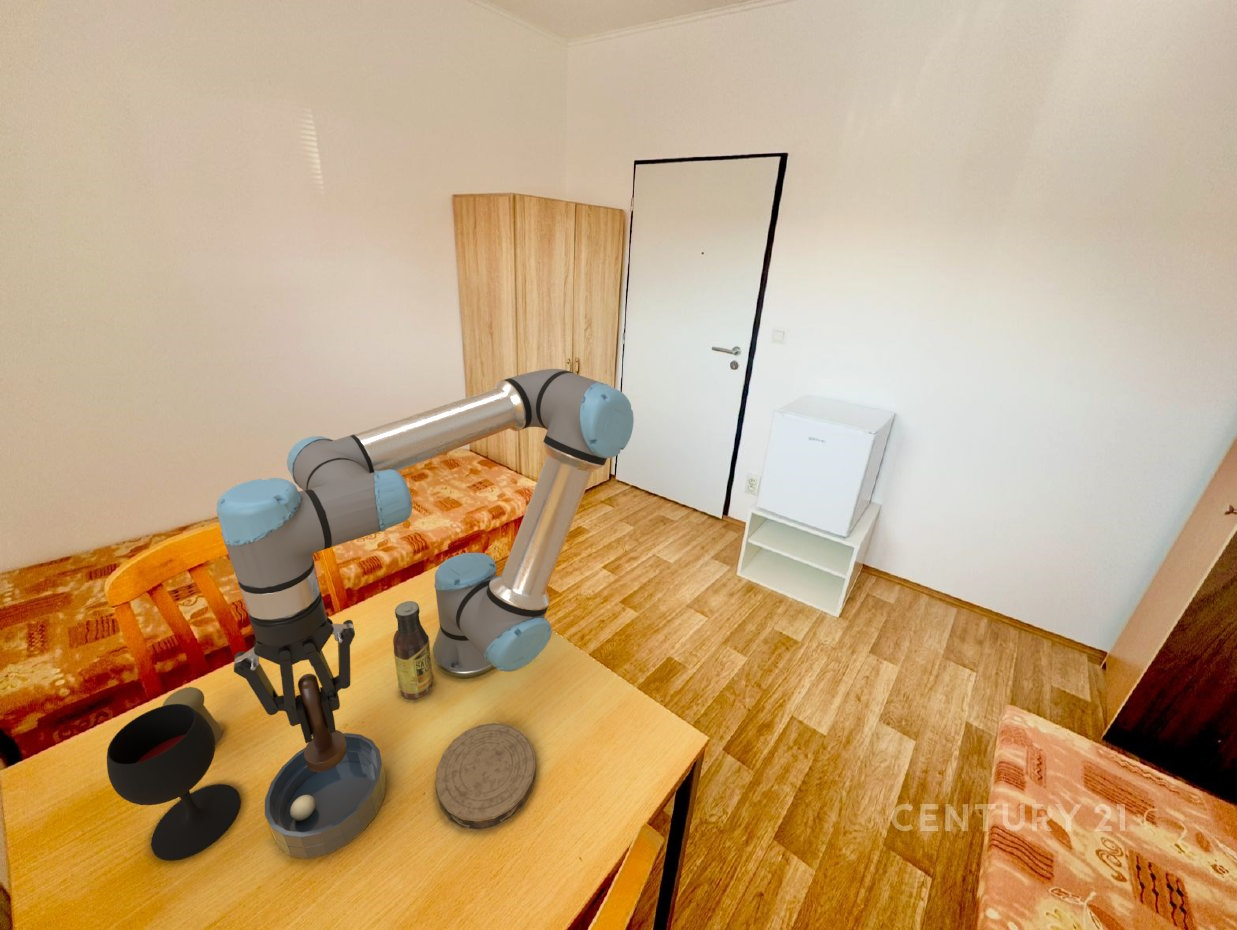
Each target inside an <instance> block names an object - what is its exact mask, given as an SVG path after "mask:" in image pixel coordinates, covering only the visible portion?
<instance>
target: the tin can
mask: <svg viewBox="0 0 1237 930" xmlns="http://www.w3.org/2000/svg"><path fill="white" fill-rule="evenodd" d="M535 757H536V756H535V749H534V748H533V746H532V744H531V741H530V739H529V738H528V737H527V735H525V734H524V733H523V732H522V731H521V730H520V729H518V728H517V727H515V726H512V725H510V724H508V723H499V722H489V723H483V724H478V725H476V726H473V727H471V728H469V729H467V730H465V731H464V732H462V733H461V734H460V735H459V736H457V737H456V738H455V739H453V740H452V742H451V743H450V744H449V745H448V746H447V748H446V749H445V750H444V752H442V755H441V757H440V760H439V762H438V764H437V767H436V772H435V773H436V774H435V784H434V785H435V791H436V798H437V800H438V805H439V809H440V810H441V812H442V814H444V816H445V817H446V819H447V820H448V821H449V822H450V823H452V824H454V825H455V826H457V827H459V828H461V829H463V830H470V831H478V832H480V831H484V830H489V829H494V828H497V827H499V826H500V825H502V824H504V823H506V822H508V821H510V820H511V819H513V818H514V817H515V816H516V815H517V813H518V812H519V811H521V810H522V809H523V808H524V807H525V805H526V803H527V801H528V799H529V797H530V796H531V794H532V792H533V788H534V784H535V781H536V758H535Z"/></svg>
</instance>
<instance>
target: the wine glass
mask: <svg viewBox="0 0 1237 930" xmlns="http://www.w3.org/2000/svg"><path fill="white" fill-rule="evenodd" d="M215 753H216V745H215V737H214V733H213V731H212V728H211V726H210V725H209V723H208V722H207V720H206V719H205V718H204V717H203V716H202V715H201V714H200V713H198V712H197V711H196V710H194V709H193V708H192V707H190V706H188V705H184V704H170V705H165V706H159V707H155V708H153V709H150V710H148V711H146V712H144V713H142V714H140V715H138V716H136V717H135V718H134V719H132V720H131V721H129V722H128V723H126V724H125V725H124V726H123V727H122V728H121V729H120V730H119V731H118V732H117V733H116V734H115V735H114V737H113V738H112V739H111V741H110V743H109V744H108V747H107V751H106V768H107V776H108V779H109V782H110V784H111V786H112V788H113V790H114V791H115V792H116V793H117V794H118V795H119V797H121V798H122V799H124V801H127V802H129V803H131V804H134V805H139V806H156V805H161V804H165V803H168V802H171V801H174V800H176V799H178V798H179V799H180V800H179V801H178V802H176V803H175V804H173V805H172V806H171V807H170V808H169V809H168V810H167V812H166V813H165V814H164V815H163V816H162V817H161V818H160V820H159V821H158V823H157V825H156V827H155V828H154V830H153V832H152V836H151V841H150V846H151V850H152V852H153V854H154V855H155V856H156V858H158V859H160V860H162V861H166V862H167V861H169V862H171V861H172V862H175V861H180V860H184V859H188V858H190V857H192V856H195V855H197V854H199V853H201V852H203V851H205V850H206V849H208V848H209V847H211V846H212V845H213V844H214V843H215V842H217V841H218V840H219V839H220V838H221V837H222V836H223V835H224V834H225V833H226V832H227V831H228V830H229V829H230V828H231V826H232V824H233V823H234V822H235V820H236V819H237V817H238V815H239V812H240V808H241V804H242V803H241V802H242V801H241V795H240V793H239V792H238V790H237V789H236V788H235V787H234V786H232V785H230V784H225V783H218V784H217V783H216V784H211V785H206V786H204V787H201V788H199V789H196V790H194V791H193V792H191V790H192V789H193V788H194V787H195V786H196V785H198V783H199V782H200V781H201V780H202V779H203V778H204V776H205V775H206V774H207V772H208V770H209V769H210V767H211V765H212V763H213V760H214V757H215Z"/></svg>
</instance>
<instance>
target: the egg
mask: <svg viewBox="0 0 1237 930" xmlns="http://www.w3.org/2000/svg"><path fill="white" fill-rule="evenodd" d="M314 808H315V800H314V798H313V797H312V796H310V795H303V796H300V797H299V798H297V799H296V800H295V801H294V802H293V804H292V806H291V809H290V815H291V817H292V818H293V819H294V820H296V821H301V820H304V819H306V818H308V817H309V816H310V815H311V814H312V812H313V811H314Z"/></svg>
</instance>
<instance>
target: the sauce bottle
mask: <svg viewBox="0 0 1237 930" xmlns="http://www.w3.org/2000/svg"><path fill="white" fill-rule="evenodd" d="M419 605H420V604H419V603H418V602H416V601H414V600H406V601H403V602H401V603H399V604H398V605H396V607H395V608H394V616H395V618H396V621H397V630H396V631H395V632H394V635H393V640H392V645H393V655H394V664H395V669H396V670H395V671H396V678H397V682H398V688H399V691H400V694H401V695H402V697H403V698H406V699H408V700H409V699H410V700H416V699H418V698H421V697H424V696H425V695H426V694H427V693H429V691H430V690H431V688H432V687H433V679H434V674H433V666H432V665H433V664H432V656H431V655H432V654H431V647H430V646H431V645H430V637H429V635H428V634H427V632H426V631H425V629H424V627H423V625H422V623H421V620H420V612H421V611H420V606H419Z"/></svg>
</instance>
